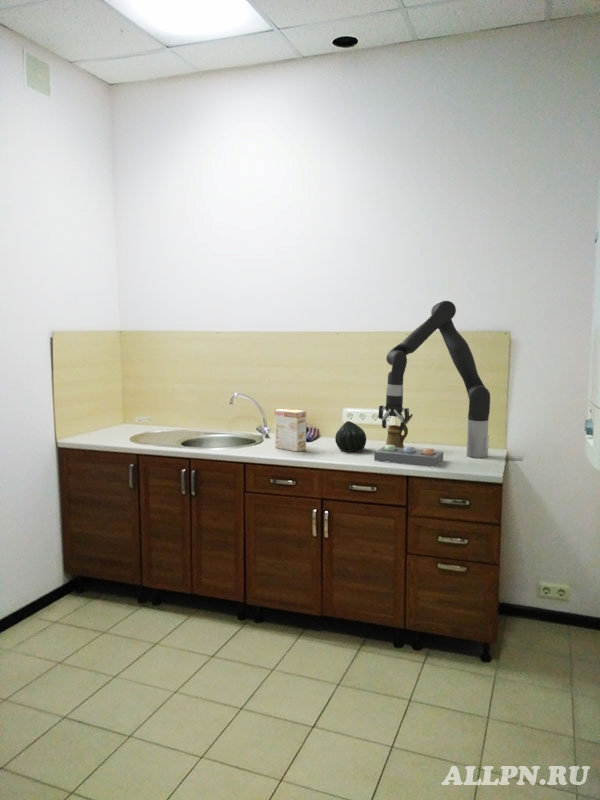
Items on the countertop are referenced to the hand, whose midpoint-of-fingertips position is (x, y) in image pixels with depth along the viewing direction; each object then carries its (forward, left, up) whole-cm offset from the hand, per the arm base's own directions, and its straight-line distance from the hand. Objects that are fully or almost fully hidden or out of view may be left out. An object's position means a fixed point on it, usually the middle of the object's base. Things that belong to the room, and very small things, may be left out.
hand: (393, 429), depth 282 cm
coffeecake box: (+52, +3, -14) cm, 54 cm away
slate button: (-8, +2, -11) cm, 14 cm away
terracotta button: (-17, +2, -11) cm, 20 cm away
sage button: (+1, +2, -11) cm, 11 cm away
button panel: (-8, +2, -14) cm, 16 cm away
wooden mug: (+4, -21, -14) cm, 26 cm away
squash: (+24, -7, -14) cm, 28 cm away
